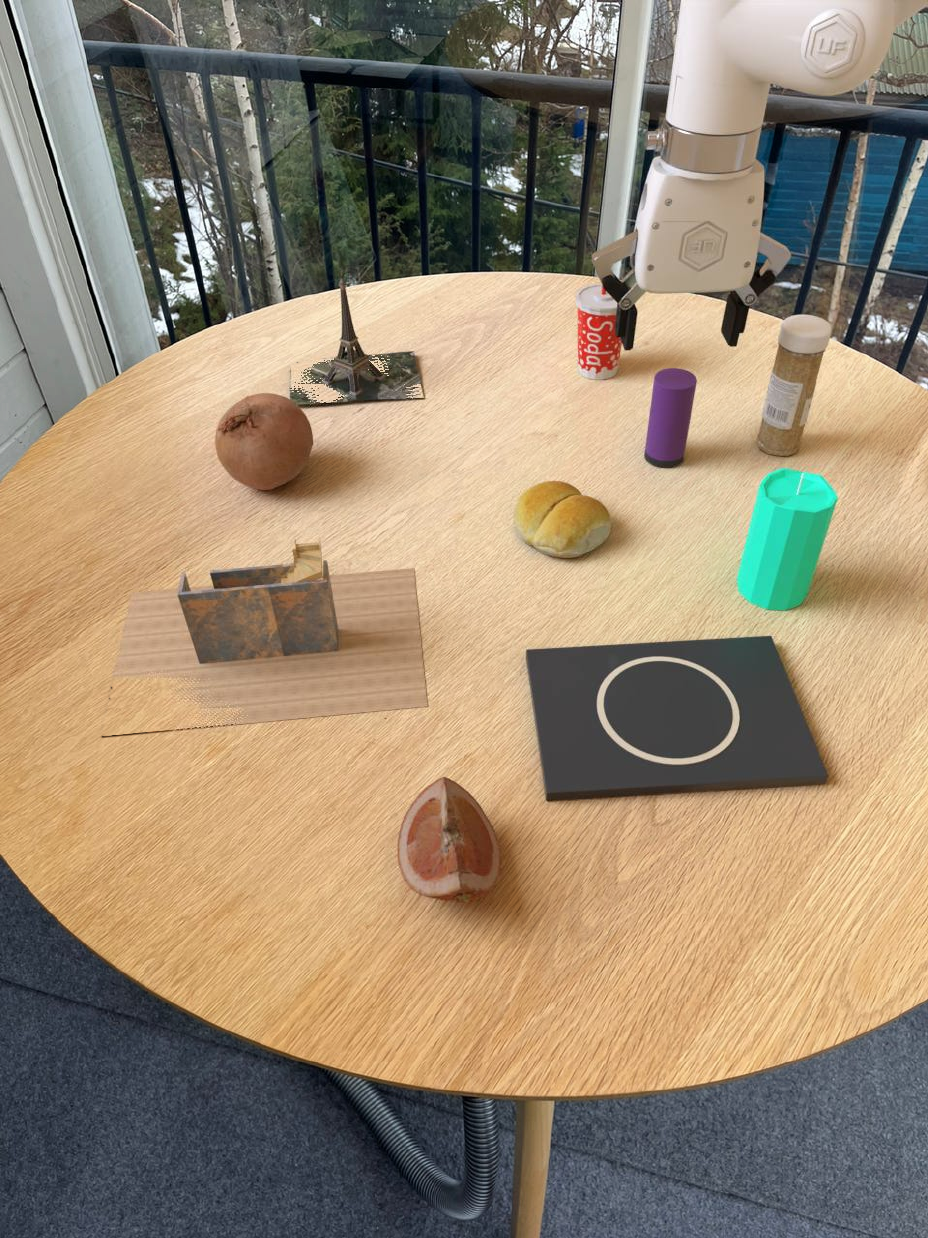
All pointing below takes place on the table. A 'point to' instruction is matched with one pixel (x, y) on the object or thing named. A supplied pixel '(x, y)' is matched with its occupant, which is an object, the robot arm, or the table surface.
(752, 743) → the sketch board
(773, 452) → the sprinkles bottle
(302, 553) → the ruin model on sheet
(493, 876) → the fruit slice
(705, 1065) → the table surface
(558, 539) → the bread roll
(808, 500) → the candle
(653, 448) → the dot marker
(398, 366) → the eiffel tower figurine
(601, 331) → the beverage cup
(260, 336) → the table surface
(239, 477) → the onion
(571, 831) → the table surface
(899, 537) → the table surface
